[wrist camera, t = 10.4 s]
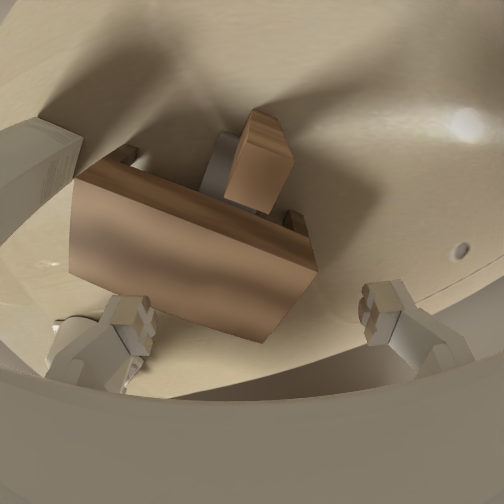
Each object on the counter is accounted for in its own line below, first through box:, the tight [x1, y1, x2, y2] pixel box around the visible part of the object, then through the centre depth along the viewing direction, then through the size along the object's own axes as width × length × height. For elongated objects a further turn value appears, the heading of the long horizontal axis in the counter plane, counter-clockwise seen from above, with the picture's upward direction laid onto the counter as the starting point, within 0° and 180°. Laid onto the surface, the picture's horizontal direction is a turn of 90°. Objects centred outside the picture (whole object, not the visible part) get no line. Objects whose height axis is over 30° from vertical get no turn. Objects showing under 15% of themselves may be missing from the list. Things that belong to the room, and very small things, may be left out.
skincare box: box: [0, 117, 84, 246], centre depth 19 cm, size 8×6×15 cm
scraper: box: [198, 109, 295, 215], centre depth 23 cm, size 18×6×14 cm, turn 158°
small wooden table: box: [69, 144, 318, 344], centre depth 26 cm, size 10×20×10 cm, turn 65°
